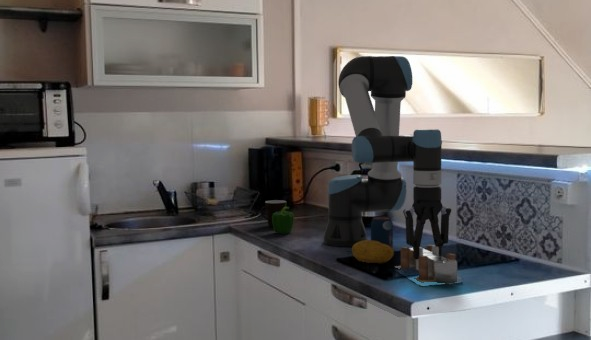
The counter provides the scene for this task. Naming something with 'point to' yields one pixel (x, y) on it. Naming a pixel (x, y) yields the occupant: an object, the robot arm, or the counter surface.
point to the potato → (372, 251)
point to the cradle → (420, 264)
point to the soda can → (382, 230)
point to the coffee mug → (273, 209)
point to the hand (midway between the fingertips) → (427, 269)
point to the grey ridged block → (437, 267)
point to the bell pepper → (283, 221)
